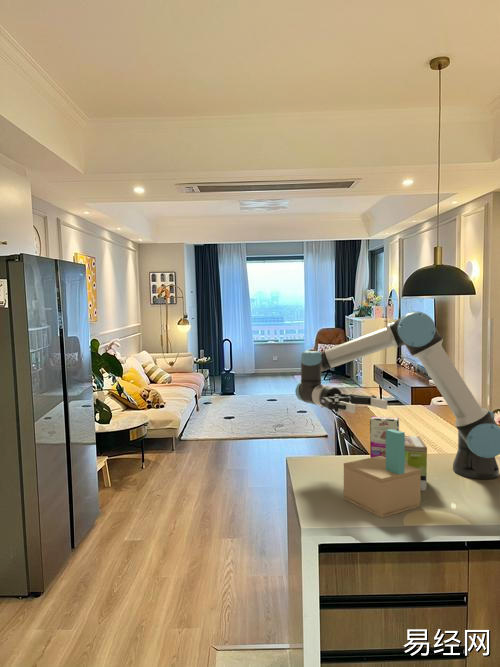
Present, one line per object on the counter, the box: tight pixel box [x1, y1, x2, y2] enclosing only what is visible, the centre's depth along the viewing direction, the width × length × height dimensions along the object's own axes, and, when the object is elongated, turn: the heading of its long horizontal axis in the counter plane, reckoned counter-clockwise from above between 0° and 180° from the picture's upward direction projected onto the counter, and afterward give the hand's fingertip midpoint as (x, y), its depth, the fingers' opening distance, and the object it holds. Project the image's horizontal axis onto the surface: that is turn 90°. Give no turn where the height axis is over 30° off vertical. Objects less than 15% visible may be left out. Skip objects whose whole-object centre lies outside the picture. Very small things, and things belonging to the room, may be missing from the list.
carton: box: [343, 466, 421, 518], centre depth 137 cm, size 16×16×10 cm
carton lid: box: [343, 429, 421, 482], centre depth 137 cm, size 16×16×13 cm
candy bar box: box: [369, 416, 400, 458], centre depth 182 cm, size 11×5×16 cm, turn 68°
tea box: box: [405, 435, 428, 492], centre depth 154 cm, size 15×10×15 cm, turn 168°
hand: (370, 406), depth 140 cm, fingers open, 13 cm apart
